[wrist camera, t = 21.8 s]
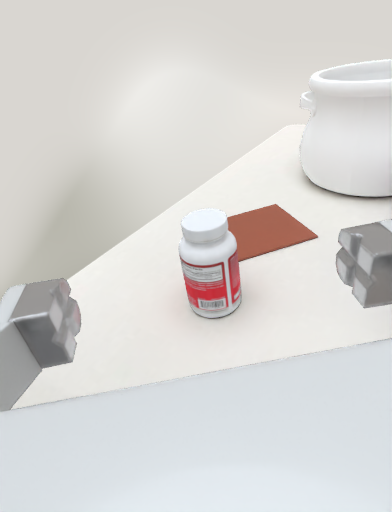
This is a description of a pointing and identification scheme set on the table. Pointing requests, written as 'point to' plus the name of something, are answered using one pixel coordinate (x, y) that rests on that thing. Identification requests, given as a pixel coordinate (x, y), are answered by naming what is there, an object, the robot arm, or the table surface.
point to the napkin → (266, 231)
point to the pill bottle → (210, 263)
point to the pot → (350, 129)
